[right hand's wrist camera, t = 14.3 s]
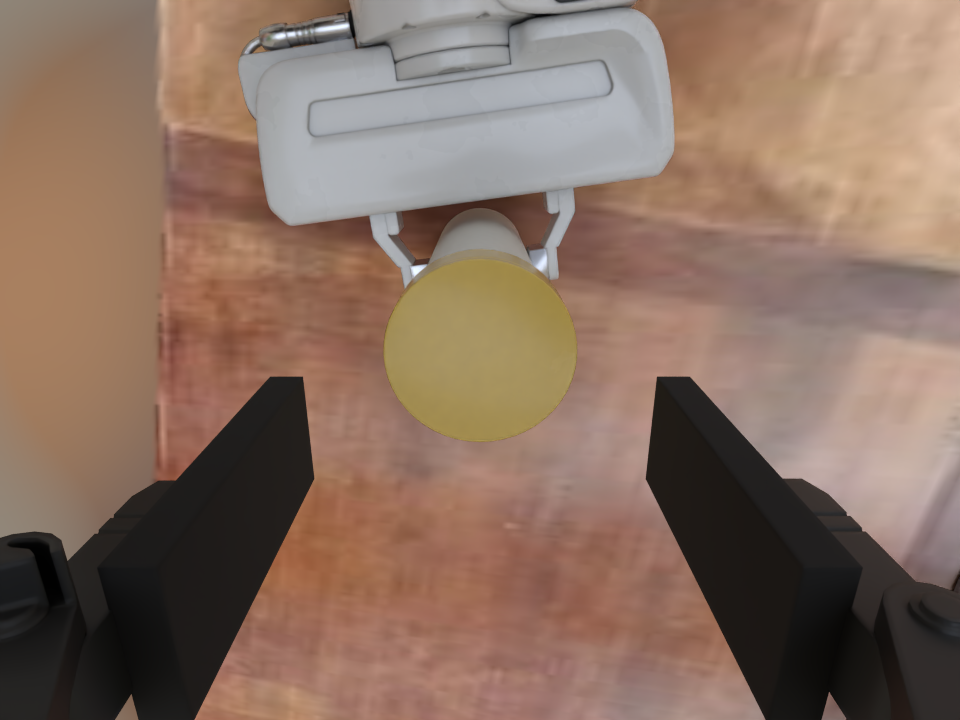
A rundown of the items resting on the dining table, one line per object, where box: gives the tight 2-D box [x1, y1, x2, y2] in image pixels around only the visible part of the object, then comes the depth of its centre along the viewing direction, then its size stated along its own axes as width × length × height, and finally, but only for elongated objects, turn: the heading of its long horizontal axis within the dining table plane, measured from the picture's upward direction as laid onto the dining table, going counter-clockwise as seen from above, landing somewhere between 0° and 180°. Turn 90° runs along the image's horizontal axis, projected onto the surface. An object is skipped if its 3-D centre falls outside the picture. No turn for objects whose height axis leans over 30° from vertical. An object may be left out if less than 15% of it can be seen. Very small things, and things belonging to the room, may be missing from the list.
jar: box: [427, 208, 532, 266], centre depth 28 cm, size 5×5×20 cm
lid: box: [383, 249, 577, 442], centre depth 20 cm, size 6×6×2 cm
